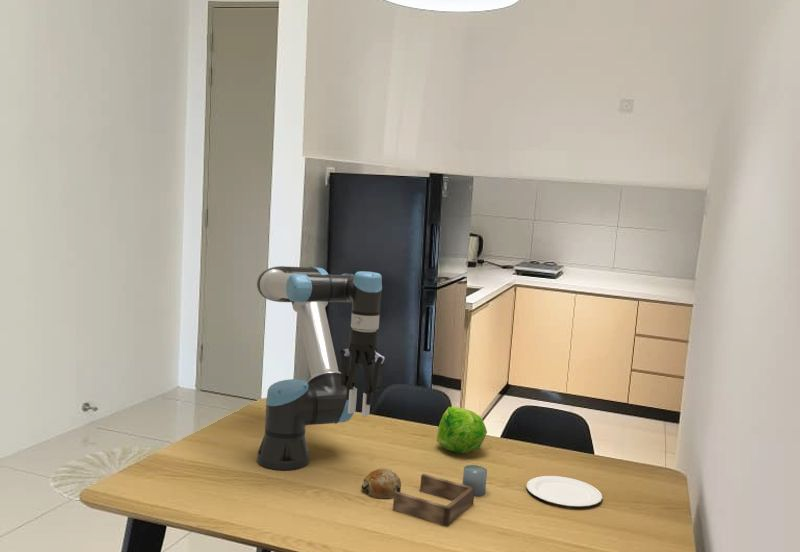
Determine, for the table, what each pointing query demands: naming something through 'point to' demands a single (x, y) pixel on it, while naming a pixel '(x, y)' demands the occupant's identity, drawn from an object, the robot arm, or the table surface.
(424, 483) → the corral
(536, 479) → the plate
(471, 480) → the grey-blue cylinder
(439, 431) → the lettuce
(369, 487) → the bread roll
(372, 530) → the table surface
